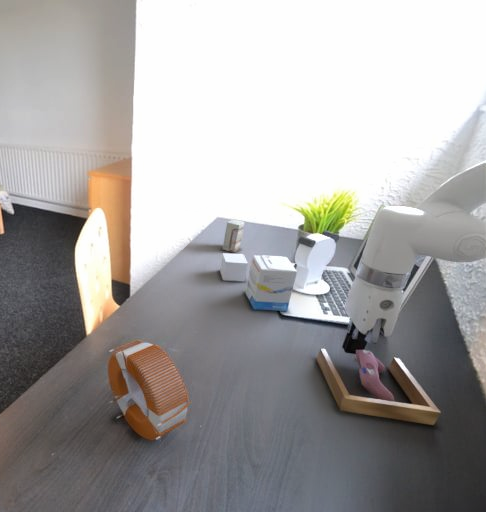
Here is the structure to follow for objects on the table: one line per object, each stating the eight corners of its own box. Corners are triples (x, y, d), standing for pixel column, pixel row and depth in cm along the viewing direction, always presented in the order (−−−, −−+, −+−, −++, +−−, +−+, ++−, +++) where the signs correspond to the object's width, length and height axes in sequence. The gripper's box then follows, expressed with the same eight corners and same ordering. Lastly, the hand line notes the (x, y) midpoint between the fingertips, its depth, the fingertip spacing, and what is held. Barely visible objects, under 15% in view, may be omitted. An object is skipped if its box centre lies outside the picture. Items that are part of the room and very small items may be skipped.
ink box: (288, 311, 92) (298, 270, 87) (252, 309, 94) (261, 269, 89) (277, 294, 100) (286, 255, 95) (244, 292, 101) (252, 254, 96)
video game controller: (358, 371, 75) (348, 343, 74) (386, 370, 73) (376, 340, 71) (364, 406, 68) (354, 374, 66) (396, 406, 65) (386, 373, 64)
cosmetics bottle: (234, 253, 124) (239, 225, 119) (221, 249, 127) (226, 222, 122) (240, 248, 127) (245, 221, 123) (228, 245, 130) (232, 218, 126)
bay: (394, 369, 74) (399, 358, 72) (434, 425, 62) (441, 412, 61) (316, 359, 77) (320, 348, 76) (340, 410, 65) (345, 398, 64)
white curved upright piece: (303, 271, 111) (315, 225, 105) (340, 288, 102) (356, 238, 96) (274, 280, 107) (285, 232, 100) (310, 298, 98) (325, 247, 91)
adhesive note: (244, 281, 107) (248, 263, 104) (222, 280, 108) (225, 262, 105) (240, 271, 112) (243, 254, 109) (219, 270, 113) (222, 253, 110)
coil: (132, 386, 71) (135, 323, 65) (187, 446, 60) (197, 376, 53) (102, 400, 68) (102, 336, 62) (154, 466, 57) (160, 395, 50)
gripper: (428, 297, 61) (389, 380, 69) (386, 258, 74) (357, 332, 82) (376, 291, 62) (344, 373, 70) (344, 254, 75) (320, 327, 83)
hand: (351, 351), depth 76 cm, fingers closed
